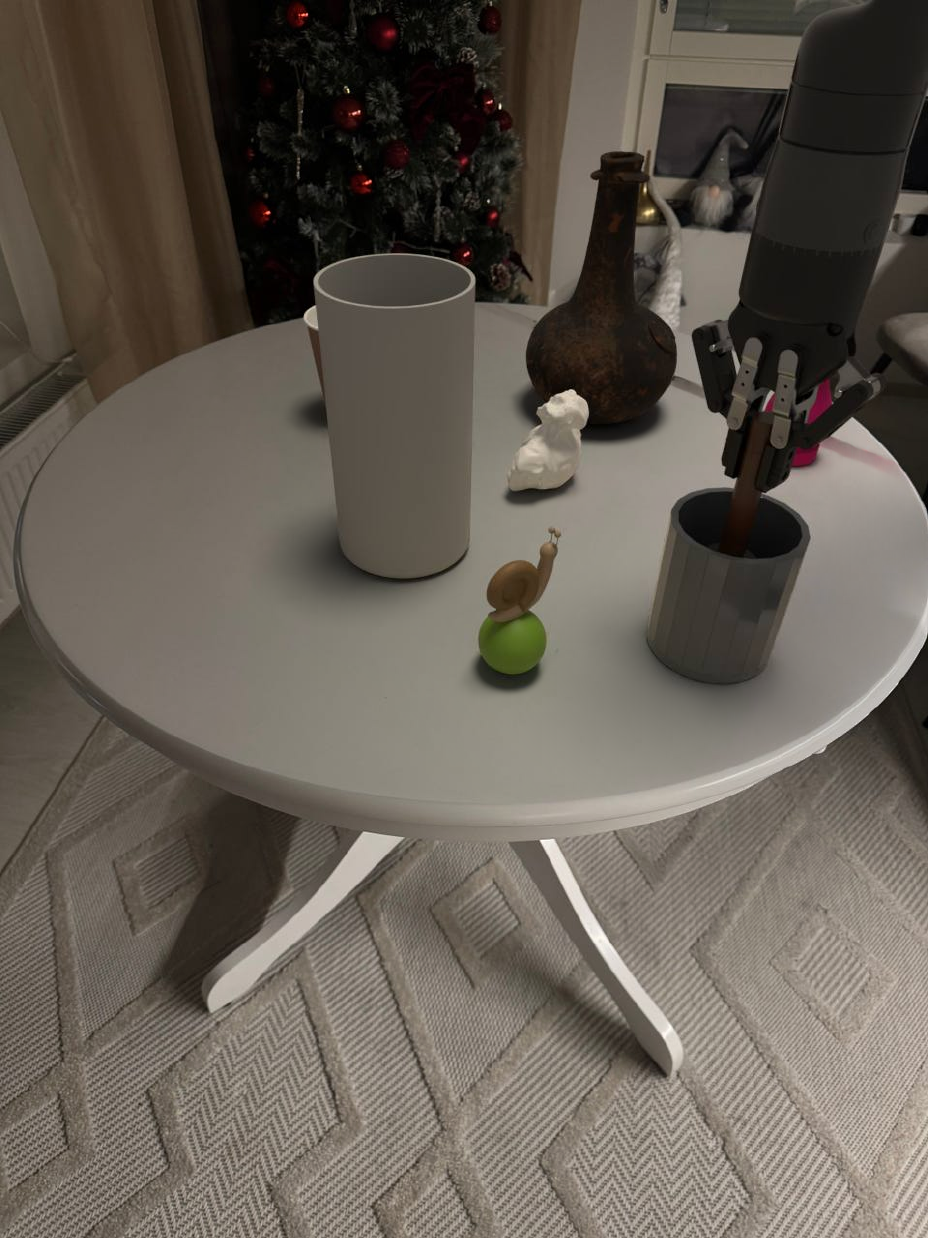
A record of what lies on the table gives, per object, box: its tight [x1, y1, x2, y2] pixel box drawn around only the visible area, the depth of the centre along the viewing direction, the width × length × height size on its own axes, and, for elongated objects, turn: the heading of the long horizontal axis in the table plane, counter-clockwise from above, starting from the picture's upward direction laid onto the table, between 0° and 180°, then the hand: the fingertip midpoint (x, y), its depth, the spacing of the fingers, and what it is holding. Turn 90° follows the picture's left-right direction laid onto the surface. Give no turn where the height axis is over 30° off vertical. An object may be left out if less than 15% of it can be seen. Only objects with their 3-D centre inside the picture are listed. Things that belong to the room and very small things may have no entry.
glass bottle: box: [525, 150, 678, 425], centre depth 95 cm, size 18×18×28 cm
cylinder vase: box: [313, 253, 476, 579], centre depth 73 cm, size 12×12×25 cm
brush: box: [707, 410, 775, 559], centre depth 63 cm, size 4×4×16 cm
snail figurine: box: [477, 526, 562, 675], centre depth 65 cm, size 5×6×12 cm
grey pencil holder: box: [646, 486, 812, 685], centre depth 67 cm, size 10×10×12 cm
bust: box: [506, 389, 589, 492], centre depth 88 cm, size 12×8×11 cm
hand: (750, 479), depth 61 cm, fingers closed on brush, 2 cm apart
